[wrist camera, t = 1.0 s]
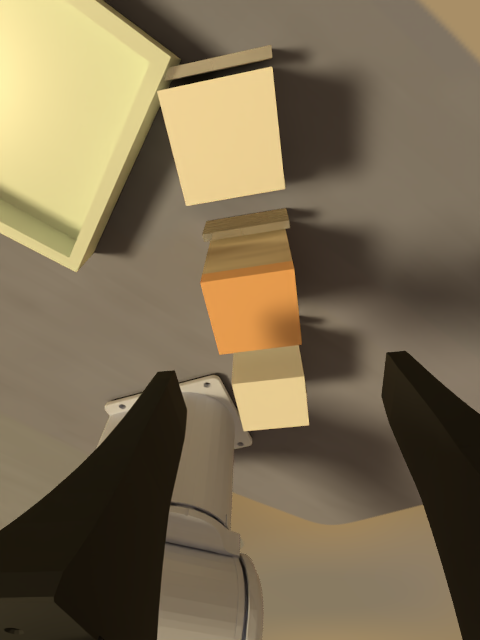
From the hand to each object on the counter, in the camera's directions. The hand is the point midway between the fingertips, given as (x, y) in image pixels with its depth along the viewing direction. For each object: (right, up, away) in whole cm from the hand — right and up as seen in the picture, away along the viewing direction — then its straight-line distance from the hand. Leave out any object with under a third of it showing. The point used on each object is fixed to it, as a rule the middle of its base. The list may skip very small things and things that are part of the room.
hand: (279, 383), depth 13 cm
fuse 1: (-2, +11, +5) cm, 13 cm away
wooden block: (-1, +6, +9) cm, 10 cm away
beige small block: (+1, 0, +13) cm, 13 cm away
